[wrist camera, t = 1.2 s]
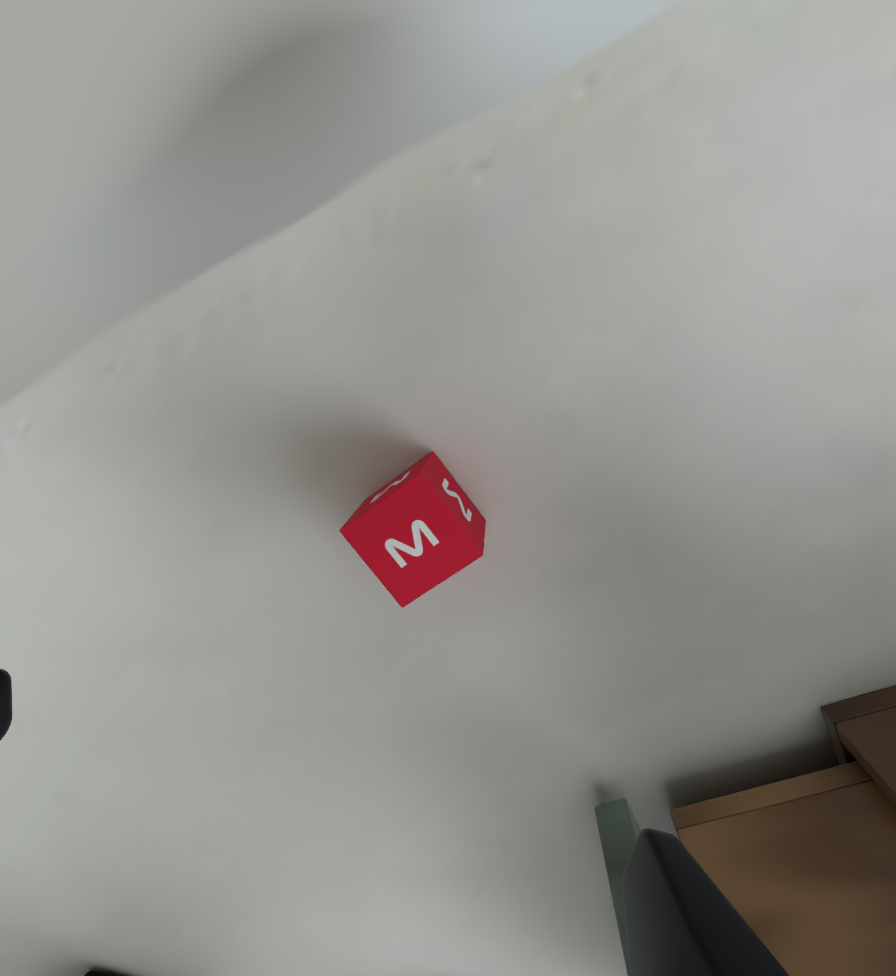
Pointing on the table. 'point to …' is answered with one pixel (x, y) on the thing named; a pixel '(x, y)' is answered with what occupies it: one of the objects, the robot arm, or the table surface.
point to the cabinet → (867, 735)
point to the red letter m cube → (417, 530)
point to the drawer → (790, 866)
